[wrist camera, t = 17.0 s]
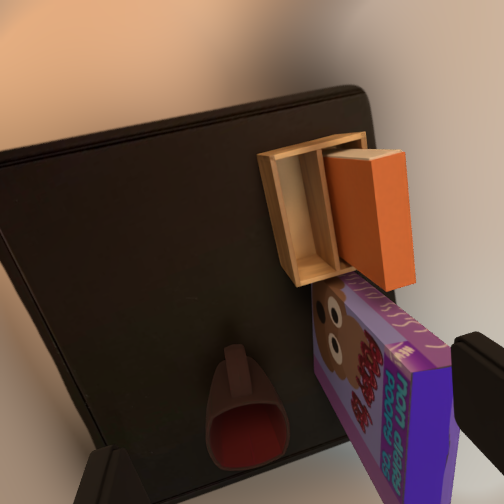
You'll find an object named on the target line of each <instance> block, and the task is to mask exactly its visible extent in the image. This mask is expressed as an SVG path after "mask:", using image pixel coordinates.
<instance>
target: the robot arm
mask: <svg viewBox="0 0 504 504" xmlns="http://www.w3.org/2000/svg"><path fill="white" fill-rule="evenodd" d="M451 366H452V385H453V405H454V418H455V421H456V423H457V425H458V427H459V428H460V429H461V431H462V432H463V433H465V435H466V436H467V437H468V438H469V439H470V440H471V441H472V442H473V443H474V444H475V445H476V446H477V448H478V449H479V450H480V451H481V452H482V453H483V454H484V455H485V456H486V457H487V458H488V459H489V460H490V461H491V462H492V464H493V465H494V466H495V467H496V468H497V469H498V470H499V471H500V472H501V473H502V474H503V475H504V348H503V347H502V346H500V345H499V344H497V343H496V342H494V341H492V340H491V339H489V338H488V337H486V336H485V335H483V334H482V333H480V332H472V333H468V334H465V335H462V336H459V337H456V338H455V340H454V344H452V346H451ZM73 504H151V502H150V500H149V498H148V496H147V493H146V491H145V489H144V487H143V485H142V483H141V481H140V478H139V476H138V474H137V472H136V470H135V468H134V466H133V464H132V461H131V459H130V457H129V455H128V453H127V451H126V449H125V448H120V449H119V447H118V446H117V445H116V444H113V445H110V446H107V447H104V448H100V449H97V450H94V451H92V453H91V454H90V456H89V459H88V462H87V464H86V467H85V470H84V473H83V476H82V479H81V482H80V485H79V488H78V491H77V494H76V497H75V500H74V503H73Z"/></svg>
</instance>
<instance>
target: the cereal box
mask: <svg viewBox="0 0 504 504" xmlns="http://www.w3.org/2000/svg"><path fill="white" fill-rule="evenodd" d="M311 304H312V333H313V361H314V373H315V375H316V377H317V378H318V380H319V382H320V384H321V386H322V388H323V390H324V392H325V394H326V395H327V397H328V399H329V401H330V403H331V405H332V407H333V409H334V411H335V412H336V414H337V416H338V418H339V420H340V422H341V424H342V426H343V428H344V429H345V431H346V433H347V435H348V437H349V439H350V441H351V442H352V444H353V446H354V448H355V450H356V452H357V454H358V456H359V458H360V460H361V462H362V463H363V465H364V467H365V469H366V471H367V473H368V475H369V477H370V479H371V480H372V482H373V484H374V486H375V488H376V490H377V492H378V494H379V496H380V497H381V499H382V501H383V503H384V504H450V503H451V496H452V488H453V480H454V472H455V464H456V457H457V449H458V441H459V433H460V428H459V427H458V425H457V423H456V421H455V418H454V405H453V385H452V366H451V347H449V346H448V345H447V344H446V343H444V342H443V341H442V340H440V339H439V338H438V337H437V336H435V335H434V334H433V333H431V332H430V331H429V330H428V329H426V328H425V327H424V326H423V325H421V324H420V323H419V322H418V321H416V320H415V319H413V318H412V317H411V316H410V315H409V314H407V313H406V312H405V311H404V310H402V309H401V308H400V307H398V306H397V305H396V304H395V303H393V302H392V301H391V300H390V299H388V298H387V297H386V296H384V295H383V294H382V293H381V292H379V291H378V290H377V289H376V288H374V287H373V286H372V285H371V284H369V283H368V282H367V281H365V280H364V279H363V278H362V277H360V276H359V275H358V274H357V273H355V272H354V271H352V272H348V273H345V274H341V275H338V276H334V277H331V278H327V279H324V280H320V281H317V282H313V283H311Z"/></svg>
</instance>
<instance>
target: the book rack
mask: <svg viewBox="0 0 504 504" xmlns="http://www.w3.org/2000/svg"><path fill="white" fill-rule="evenodd" d="M329 149H367V141H366V132H356V133H345V134H335V135H331V136H327V137H324V138H320V139H316V140H312V141H308V142H304V143H300V144H296V145H292V146H288V147H284V148H280V149H276V150H272V151H268V152H264V153H260V154H257V155H256V156H257V160H258V165H259V169H260V174H261V178H262V183H263V187H264V192H265V196H266V201H267V205H268V210H269V214H270V219H271V223H272V228H273V232H274V237H275V241H276V246H277V250H278V255H279V260H280V264H281V266H282V268H283V269H284V271H285V272H286V273H287V275H288V276H289V277H290V279H291V280H292V282H293V283H294V284H295V286H296V287H300V286H303V285H306V284H310V283H313V282H317V281H320V280H324V279H327V278H331V277H334V276H338V275H341V274H345V273H348V272H352V271H355V270H357V269H356V268H354V267H353V266H352V265H350V264H349V263H348V262H346V261H345V260H344V259H342V258H341V257H340V256H338V249H337V243H336V237H335V231H334V225H333V218H332V212H331V206H330V200H329V193H328V187H327V181H326V175H325V169H324V162H323V156H322V151H325V150H329Z"/></svg>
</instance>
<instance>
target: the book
mask: <svg viewBox="0 0 504 504" xmlns="http://www.w3.org/2000/svg"><path fill="white" fill-rule="evenodd" d="M322 156H323V162H324V169H325V175H326V181H327V187H328V193H329V200H330V206H331V212H332V218H333V225H334V231H335V237H336V243H337V249H338V256H340V257H341V258H342V259H344V260H345V261H346V262H348V263H349V264H350V265H352V266H353V267H354V268H356V269H357V270H358V271H360V272H361V273H362V274H363V275H365V276H366V277H367V278H369V279H370V280H371V281H373V282H374V283H375V284H377V285H378V286H379V287H381V288H382V289H383V290H385V291H386V292H387V291H390V290H394V289H397V288H401V287H404V286H407V285H411V284H414V283H416V276H415V264H414V252H413V240H412V230H411V229H412V228H411V217H410V205H409V193H408V181H407V169H406V158H405V152H402V151H401V150H386V149H381V150H380V149H329V150H325V151H322Z"/></svg>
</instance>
